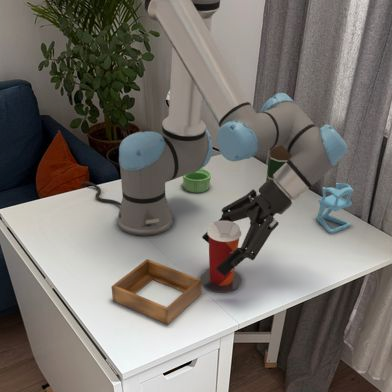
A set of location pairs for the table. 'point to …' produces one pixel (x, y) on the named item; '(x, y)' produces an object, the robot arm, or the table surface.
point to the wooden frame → (151, 271)
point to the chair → (334, 205)
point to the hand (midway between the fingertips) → (212, 255)
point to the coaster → (216, 288)
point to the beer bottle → (277, 160)
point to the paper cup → (222, 249)
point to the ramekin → (197, 181)
